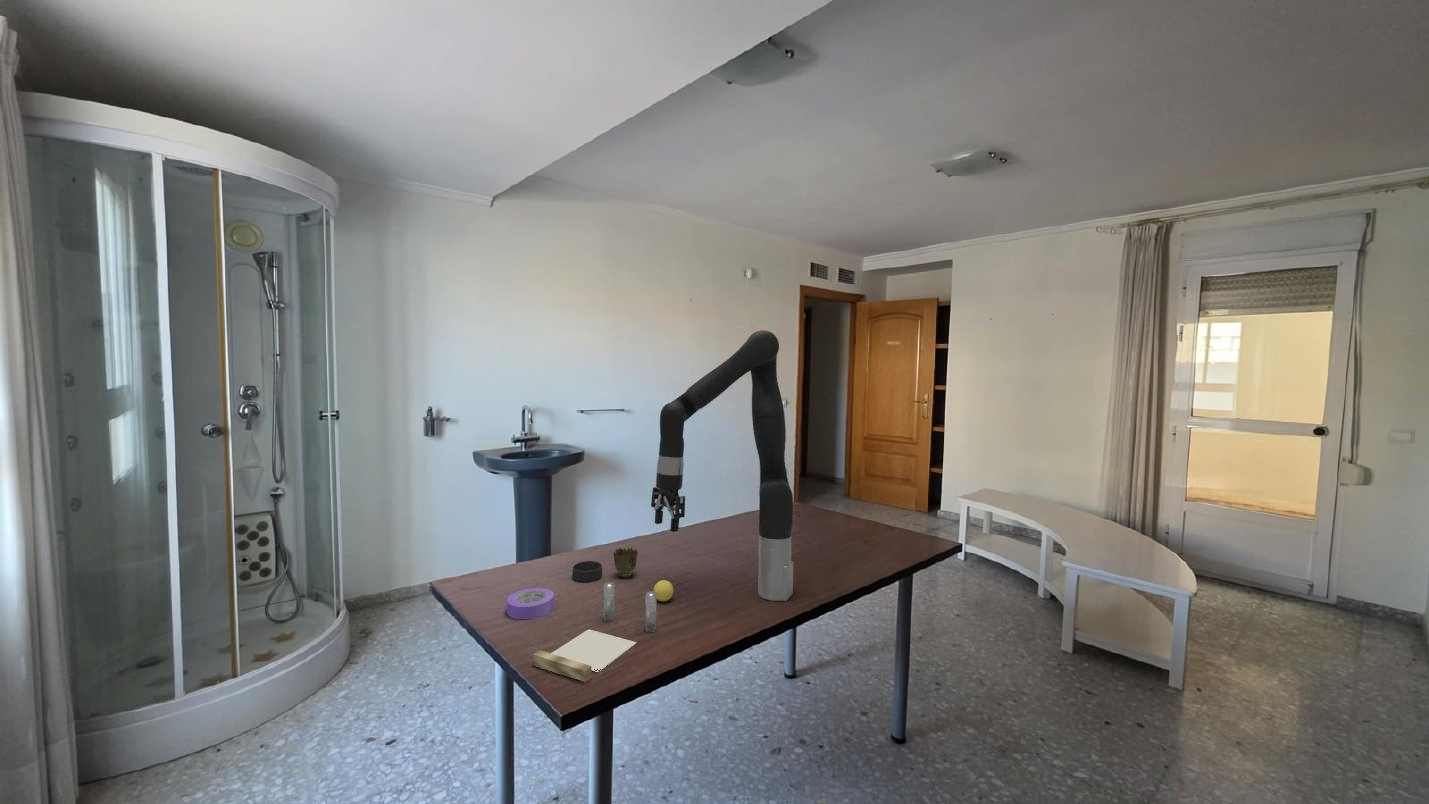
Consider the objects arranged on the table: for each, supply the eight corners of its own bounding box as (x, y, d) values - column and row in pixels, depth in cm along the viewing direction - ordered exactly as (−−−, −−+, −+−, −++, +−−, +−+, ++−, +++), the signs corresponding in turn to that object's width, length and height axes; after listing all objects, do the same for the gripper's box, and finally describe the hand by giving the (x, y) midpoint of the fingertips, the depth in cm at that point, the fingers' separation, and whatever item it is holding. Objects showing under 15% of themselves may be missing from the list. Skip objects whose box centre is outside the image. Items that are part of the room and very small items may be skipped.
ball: (677, 598, 144) (677, 579, 144) (666, 606, 139) (666, 586, 139) (660, 595, 146) (660, 576, 146) (649, 602, 142) (649, 582, 141)
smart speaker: (599, 583, 156) (599, 570, 155) (569, 583, 155) (569, 570, 155) (603, 572, 164) (603, 560, 164) (575, 573, 164) (575, 560, 164)
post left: (616, 618, 132) (616, 583, 132) (609, 622, 129) (610, 586, 129) (608, 616, 133) (608, 581, 133) (601, 620, 131) (601, 585, 130)
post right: (658, 628, 126) (658, 592, 126) (652, 633, 124) (652, 596, 124) (649, 626, 127) (649, 590, 127) (643, 630, 125) (643, 594, 125)
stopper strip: (591, 678, 105) (591, 666, 105) (584, 683, 103) (584, 671, 103) (539, 661, 111) (539, 650, 111) (532, 666, 109) (532, 654, 109)
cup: (632, 581, 156) (632, 555, 156) (609, 579, 158) (609, 553, 157) (640, 573, 163) (640, 548, 163) (618, 571, 165) (619, 546, 165)
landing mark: (636, 643, 119) (636, 642, 119) (597, 673, 106) (597, 672, 106) (588, 630, 125) (588, 629, 125) (546, 657, 113) (546, 656, 113)
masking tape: (535, 623, 129) (535, 608, 129) (497, 617, 132) (497, 602, 132) (562, 604, 140) (562, 590, 140) (526, 599, 144) (526, 585, 143)
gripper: (694, 475, 145) (690, 532, 145) (667, 466, 156) (664, 519, 156) (672, 476, 140) (668, 535, 141) (646, 467, 151) (642, 522, 152)
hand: (666, 527), depth 148 cm, fingers open, 8 cm apart
